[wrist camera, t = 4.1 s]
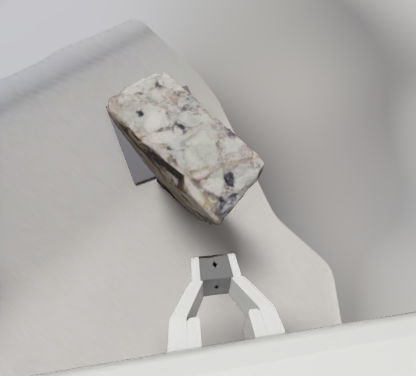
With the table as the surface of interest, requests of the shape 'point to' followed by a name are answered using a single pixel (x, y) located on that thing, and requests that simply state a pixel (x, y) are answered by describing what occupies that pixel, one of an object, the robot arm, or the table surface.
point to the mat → (135, 156)
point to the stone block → (185, 146)
